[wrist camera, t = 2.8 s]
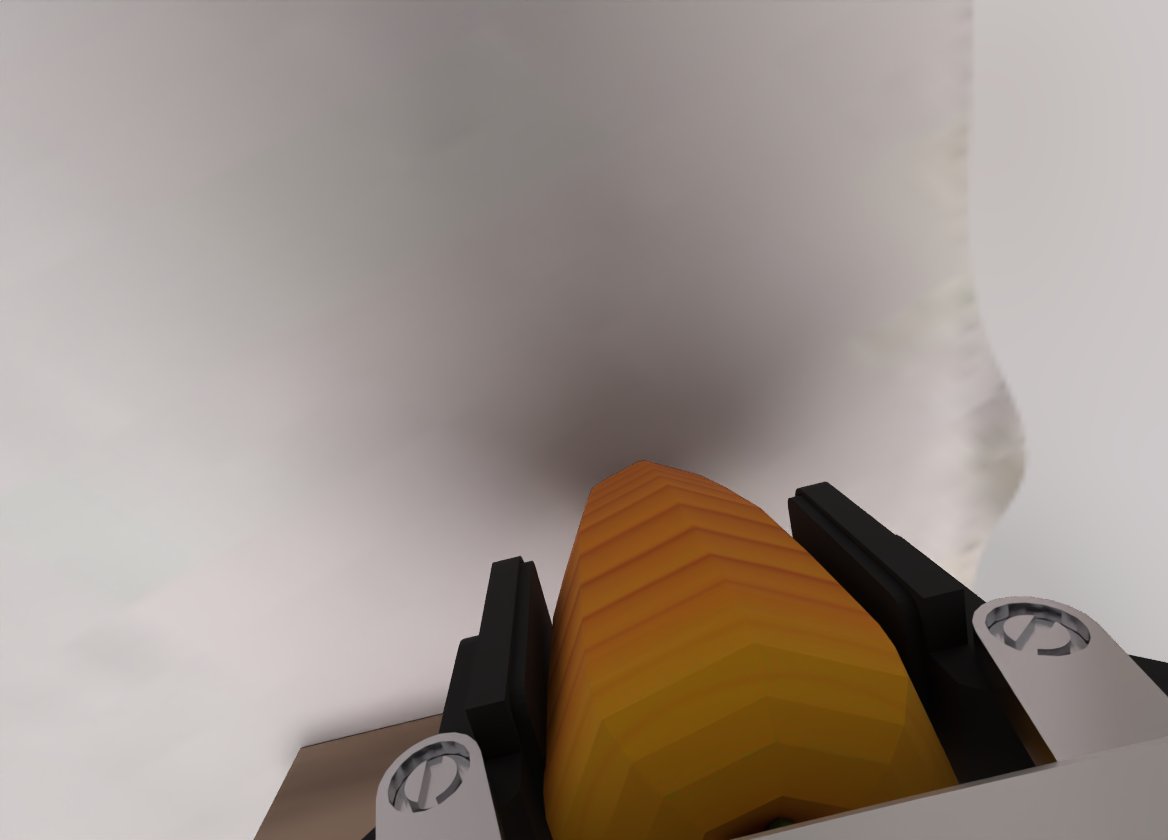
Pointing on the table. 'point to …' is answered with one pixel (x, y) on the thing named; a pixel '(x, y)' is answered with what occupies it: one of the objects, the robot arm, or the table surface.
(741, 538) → the carrot
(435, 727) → the walnut holder
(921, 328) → the table surface
